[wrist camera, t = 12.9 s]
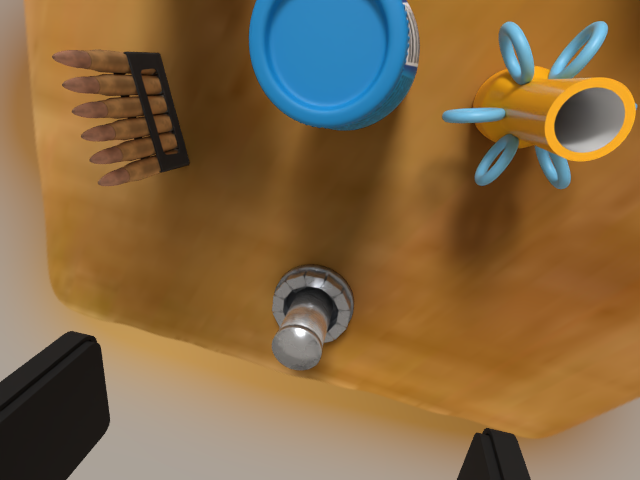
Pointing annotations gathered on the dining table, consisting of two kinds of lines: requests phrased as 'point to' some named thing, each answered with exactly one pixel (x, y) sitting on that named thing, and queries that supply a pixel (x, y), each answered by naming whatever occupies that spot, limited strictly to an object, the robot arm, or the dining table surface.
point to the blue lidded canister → (334, 58)
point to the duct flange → (318, 279)
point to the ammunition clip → (129, 112)
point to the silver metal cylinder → (303, 329)
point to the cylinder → (548, 108)
